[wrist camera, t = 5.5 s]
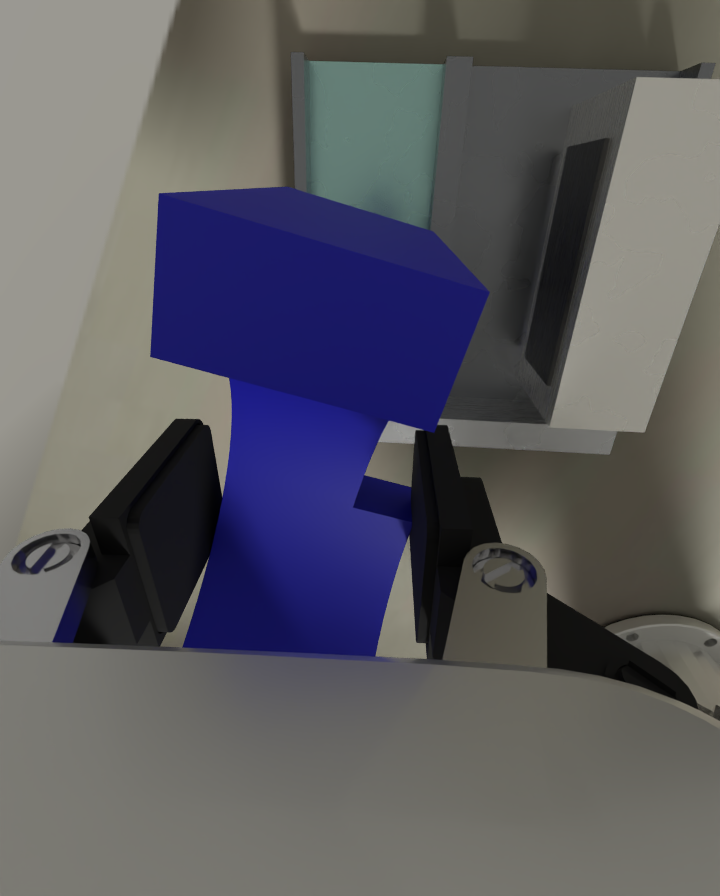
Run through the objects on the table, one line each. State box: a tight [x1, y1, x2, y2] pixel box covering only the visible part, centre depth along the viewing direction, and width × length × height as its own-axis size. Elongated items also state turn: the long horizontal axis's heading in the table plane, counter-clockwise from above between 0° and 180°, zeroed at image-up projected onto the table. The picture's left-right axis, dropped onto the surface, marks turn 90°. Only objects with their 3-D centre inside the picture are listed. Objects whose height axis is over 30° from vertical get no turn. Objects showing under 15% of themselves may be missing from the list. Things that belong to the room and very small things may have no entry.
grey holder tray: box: [291, 52, 720, 455], centre depth 21 cm, size 16×16×7 cm
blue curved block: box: [150, 187, 490, 656], centre depth 10 cm, size 12×4×6 cm, turn 165°
